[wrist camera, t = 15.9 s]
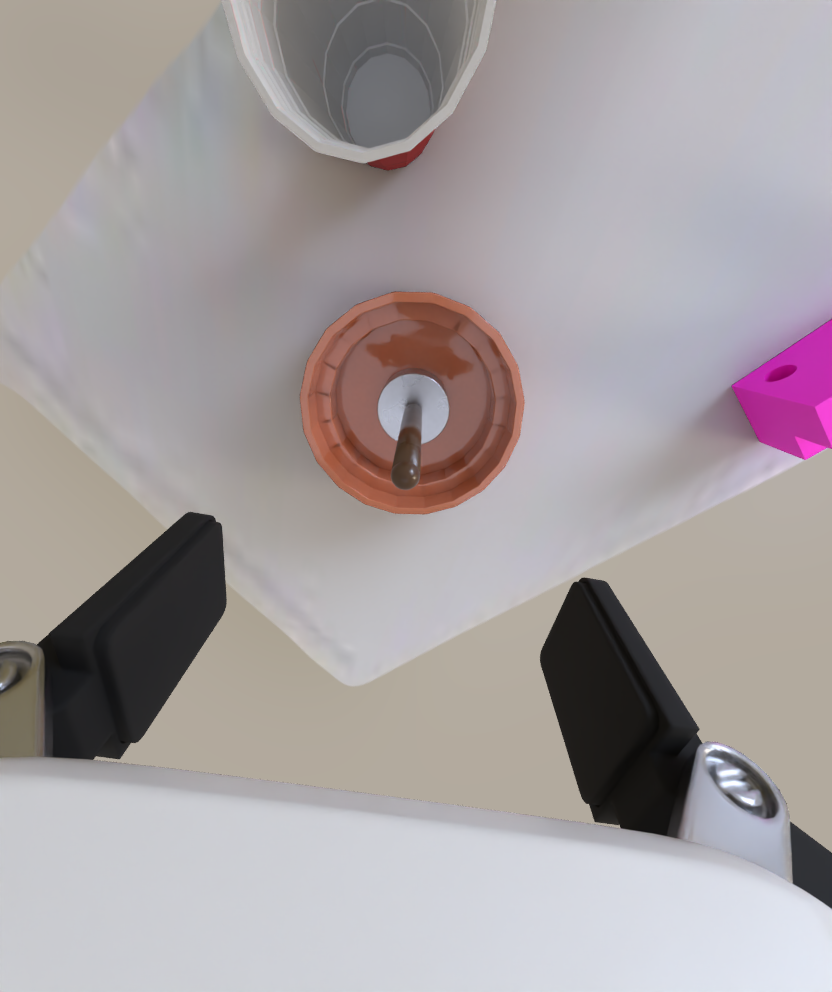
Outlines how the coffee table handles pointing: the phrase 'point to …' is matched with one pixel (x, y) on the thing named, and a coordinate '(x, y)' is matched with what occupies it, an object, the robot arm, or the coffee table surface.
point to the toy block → (793, 396)
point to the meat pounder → (412, 419)
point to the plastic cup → (361, 69)
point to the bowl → (366, 369)
